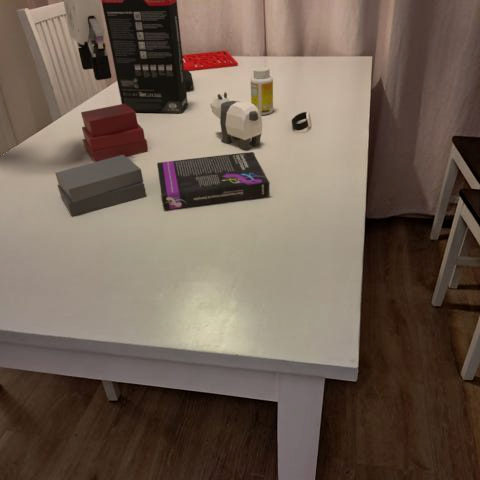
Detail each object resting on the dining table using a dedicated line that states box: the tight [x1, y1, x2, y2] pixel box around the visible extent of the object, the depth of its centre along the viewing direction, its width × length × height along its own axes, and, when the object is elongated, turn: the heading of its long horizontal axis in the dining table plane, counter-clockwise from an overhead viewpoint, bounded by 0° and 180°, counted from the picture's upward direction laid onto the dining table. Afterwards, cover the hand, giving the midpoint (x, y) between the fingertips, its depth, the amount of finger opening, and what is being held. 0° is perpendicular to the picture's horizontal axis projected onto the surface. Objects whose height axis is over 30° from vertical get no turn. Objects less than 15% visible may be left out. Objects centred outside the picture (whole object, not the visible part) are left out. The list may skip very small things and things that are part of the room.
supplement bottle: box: [250, 66, 274, 116], centre depth 117 cm, size 6×6×10 cm
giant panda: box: [209, 91, 263, 151], centre depth 103 cm, size 15×6×10 cm, turn 42°
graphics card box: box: [100, 0, 189, 114], centre depth 117 cm, size 17×7×27 cm, turn 80°
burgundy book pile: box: [81, 123, 149, 163], centre depth 103 cm, size 12×9×5 cm
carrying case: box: [184, 70, 194, 92], centre depth 141 cm, size 11×3×15 cm
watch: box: [291, 110, 312, 131], centre depth 110 cm, size 8×5×4 cm, turn 168°
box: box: [156, 151, 271, 211], centre depth 88 cm, size 14×4×20 cm
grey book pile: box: [54, 155, 147, 217], centre depth 86 cm, size 14×10×5 cm
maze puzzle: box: [182, 50, 239, 71], centre depth 164 cm, size 20×20×1 cm
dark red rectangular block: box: [80, 103, 139, 137], centre depth 101 cm, size 10×7×3 cm
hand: (96, 73), depth 95 cm, fingers open, 9 cm apart
